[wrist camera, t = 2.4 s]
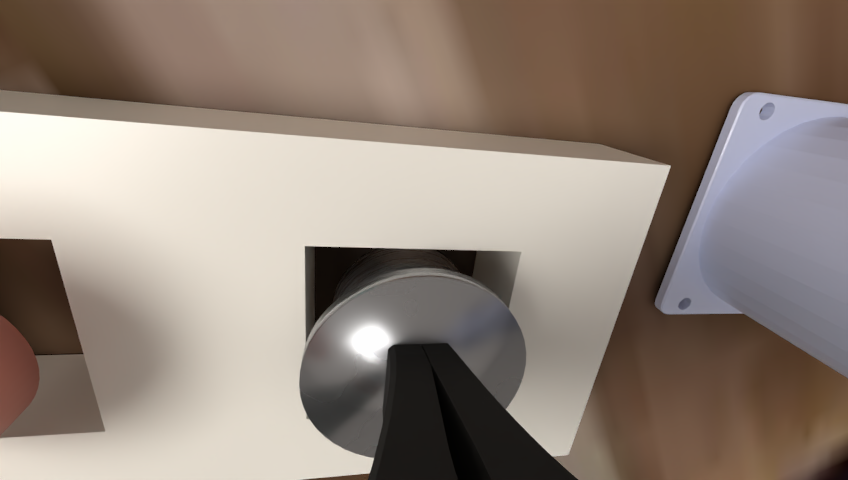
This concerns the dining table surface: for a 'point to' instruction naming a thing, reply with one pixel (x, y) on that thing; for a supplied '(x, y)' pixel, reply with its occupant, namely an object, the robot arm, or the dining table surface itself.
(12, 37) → the dining table surface
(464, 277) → the grey plug
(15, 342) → the red plug
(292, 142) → the socket block
